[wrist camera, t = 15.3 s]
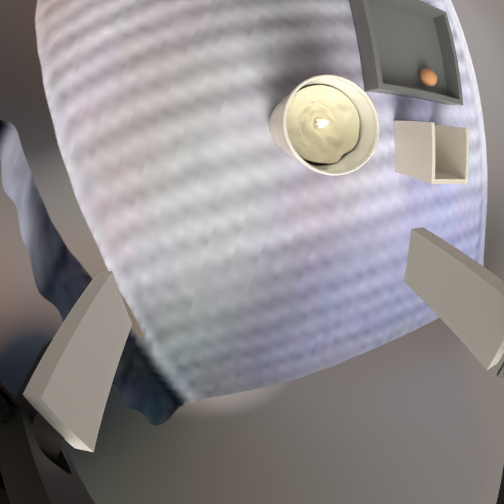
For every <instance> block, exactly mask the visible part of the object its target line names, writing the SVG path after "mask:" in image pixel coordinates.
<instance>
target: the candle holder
mask: <svg viewBox="0 0 504 504" xmlns="http://www.w3.org/2000/svg"><path fill="white" fill-rule="evenodd" d="M269 129H270V133H271V136H272V138H273V140H274V142H275V143H276V145H277V146H278V147H279V148H280V149H281V150H283V151H284V152H285V153H287V154H289V155H290V156H292V157H293V158H295V159H297V160H298V161H300V162H302V163H303V164H304V165H305V166H307V167H308V168H310V169H312V170H314V171H316V172H319V173H322V174H326V175H343V174H347V173H350V172H353V171H355V170H357V169H358V168H360V167H361V166H363V165H364V164H365V163H366V162H367V161H368V160H369V158H370V157H371V156H372V154H373V152H374V151H375V148H376V146H377V143H378V139H379V131H380V126H379V118H378V114H377V111H376V108H375V106H374V104H373V102H372V100H371V99H370V97H369V96H368V94H367V93H366V92H365V91H364V90H363V89H362V88H361V87H360V86H359V85H357V84H356V83H354V82H353V81H351V80H349V79H347V78H344V77H341V76H337V75H330V74H324V75H317V76H314V77H311V78H308V79H306V80H305V81H303V82H301V83H300V84H299V85H298V86H297V87H295V89H294V90H293V91H292V92H291V93H289V94H288V95H287V96H286V97H285V98H284V99H282V100H281V101H280V102H279V103H278V104H277V105H276V107H275V108H274V110H273V111H272V113H271V116H270V121H269Z"/></svg>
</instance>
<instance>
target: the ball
mask: <svg viewBox="0 0 504 504" xmlns="http://www.w3.org/2000/svg"><path fill="white" fill-rule="evenodd" d="M419 77H420V80H421V82H422V83H423V84H425V85H426V86H434V85H435V84H436V83H437V76H436V74H435V72H434V71H433V70H431V69H428V68H425V69H422V70H421V71H420V73H419Z"/></svg>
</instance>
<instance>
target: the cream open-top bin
mask: <svg viewBox="0 0 504 504" xmlns="http://www.w3.org/2000/svg"><path fill="white" fill-rule="evenodd" d="M393 122H394V143H395V172H398V173H401V174H404V175H407V176H410V177H413V178H416V179H419V180H422V181H425V182H427V183H430V184H452V183H468V165H469V129H468V128H461V127H453V126H443V125H435V123H434V122H421V121H393Z"/></svg>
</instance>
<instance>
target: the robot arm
mask: <svg viewBox="0 0 504 504" xmlns="http://www.w3.org/2000/svg"><path fill="white" fill-rule="evenodd" d="M404 282H405V283H406V284H407V285H408V286H409V287H410V288H411V289H412V290H413V291H414V292H415V293H416V294H417V295H418V296H419V297H420V298H421V299H422V300H423V301H424V302H425V303H426V304H427V305H428V306H429V307H430V308H431V309H432V310H433V311H434V312H435V313H436V314H437V315H438V316H439V317H440V318H441V319H442V320H443V321H444V322H445V323H446V324H447V325H448V327H450V329H451V330H452V331H453V332H454V333H455V334H456V335H457V336H458V337H459V339H460V340H461V341H462V342H463V343H464V344H465V345H466V346H467V347H468V348H469V350H470V351H471V352H472V353H473V354H474V356H475V357H476V358H477V359H478V360H479V361H480V363H481V364H482V365H483V366H484V367H485V369H486V370H488V369H489V368H491V367H492V366H494V365H495V364H497V363H498V362H499V360H500V358H501V357H502V355H503V353H504V282H503V281H502V280H500V279H499V278H498V277H497V276H495V275H494V274H493V273H491V272H490V271H488V270H487V269H486V268H484V267H483V266H481V265H480V264H479V263H477V262H476V261H474V260H473V259H471V258H470V257H469V256H467V255H466V254H464V253H463V252H461V251H460V250H458V249H457V248H455V247H454V246H452V245H450V244H449V243H447V242H446V241H444V240H443V239H441V238H439V237H438V236H436V235H435V234H433V233H431V232H430V231H428V230H426V229H425V228H416V229H411V236H410V245H409V252H408V259H407V266H406V272H405V278H404ZM131 326H132V323H131V320H130V318H129V315H128V313H127V310H126V308H125V305H124V303H123V300H122V297H121V294H120V292H119V289H118V286H117V283H116V281H115V278H114V275H113V272H112V271H110V272H103V273H97V275H96V276H95V277H94V278H93V280H92V281H91V282H90V284H89V285H88V287H87V288H86V289H85V291H84V292H83V294H82V295H81V297H80V298H79V299H78V301H77V302H76V304H75V305H74V307H73V308H72V310H71V311H70V313H69V314H68V316H67V317H66V319H65V321H64V322H63V324H62V326H61V327H60V328H59V330H58V332H57V333H56V335H55V337H54V338H53V339H51V340H50V341H49V342H48V343H47V344H46V345H45V346H44V347H43V348H42V350H41V352H40V353H39V355H38V357H37V360H36V361H35V362H34V364H33V365H32V369H30V371H29V373H28V374H27V376H26V378H25V380H24V382H23V384H22V386H21V388H20V390H19V392H18V394H17V396H16V398H15V397H14V396H13V394H12V393H11V392H10V391H9V389H8V388H7V387H6V386H5V384H4V383H3V382H2V381H1V380H0V504H95V503H94V501H93V500H92V498H91V496H90V495H89V493H88V491H87V489H86V488H85V486H84V484H83V482H82V480H81V478H80V476H79V475H78V473H77V471H76V469H75V467H74V465H73V462H72V460H71V458H70V456H69V454H68V452H67V451H66V449H65V448H64V447H63V443H64V439H65V440H66V441H67V442H68V443H70V444H71V445H72V446H73V447H74V448H76V449H81V450H86V451H91V452H94V448H95V443H96V439H97V435H98V431H99V427H100V423H101V420H102V416H103V412H104V409H105V405H106V401H107V398H108V395H109V391H110V388H111V385H112V381H113V378H114V375H115V372H116V369H117V366H118V363H119V360H120V357H121V354H122V351H123V348H124V345H125V342H126V340H127V337H128V334H129V331H130V329H131ZM503 370H504V363H503V365H502V366H501V368H500V370H499V371H498V373H497V377H499V376H500V375H501V373H502V372H503ZM502 378H504V374H503V376H502ZM503 468H504V467H503ZM496 504H504V469H503V475H502V480H501V485H500V490H499V495H498V499H497V503H496Z"/></svg>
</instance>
